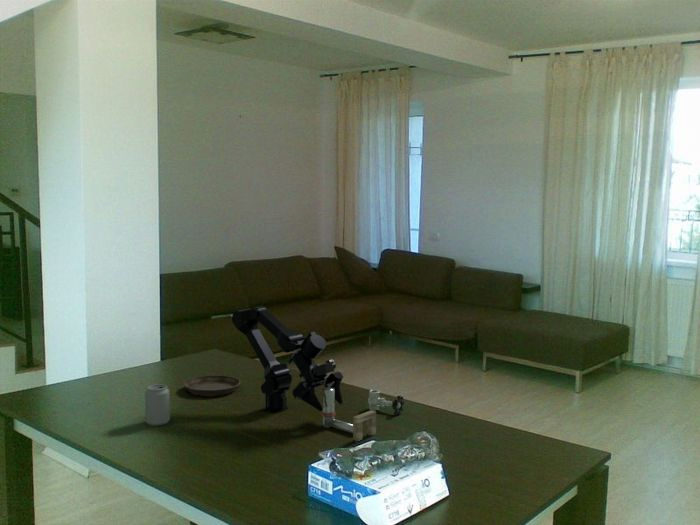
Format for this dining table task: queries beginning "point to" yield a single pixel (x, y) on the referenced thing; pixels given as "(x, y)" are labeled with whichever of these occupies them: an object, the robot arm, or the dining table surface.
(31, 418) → the dining table surface
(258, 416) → the dining table surface
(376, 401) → the valve
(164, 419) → the can
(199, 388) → the plant saucer
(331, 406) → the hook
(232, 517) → the dining table surface
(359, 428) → the beige arch block
